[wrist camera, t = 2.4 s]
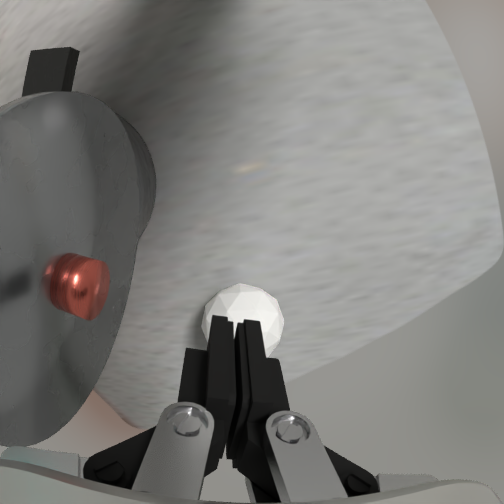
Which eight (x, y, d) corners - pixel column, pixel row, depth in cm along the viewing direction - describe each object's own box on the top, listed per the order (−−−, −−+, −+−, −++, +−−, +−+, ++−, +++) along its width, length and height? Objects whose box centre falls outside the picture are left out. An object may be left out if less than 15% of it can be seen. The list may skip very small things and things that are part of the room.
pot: (32, 69, 23) (-28, 59, 14) (176, 71, 25) (151, 44, 16) (24, 281, 32) (-21, 325, 22) (146, 306, 34) (123, 367, 24)
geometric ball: (249, 277, 36) (298, 280, 30) (254, 347, 36) (302, 363, 30) (185, 284, 32) (225, 290, 25) (193, 361, 32) (233, 385, 25)
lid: (-117, 92, 2) (-86, 74, 2) (139, 104, 17) (179, 108, 17) (2, 493, 8) (46, 520, 8) (122, 328, 23) (153, 338, 23)
